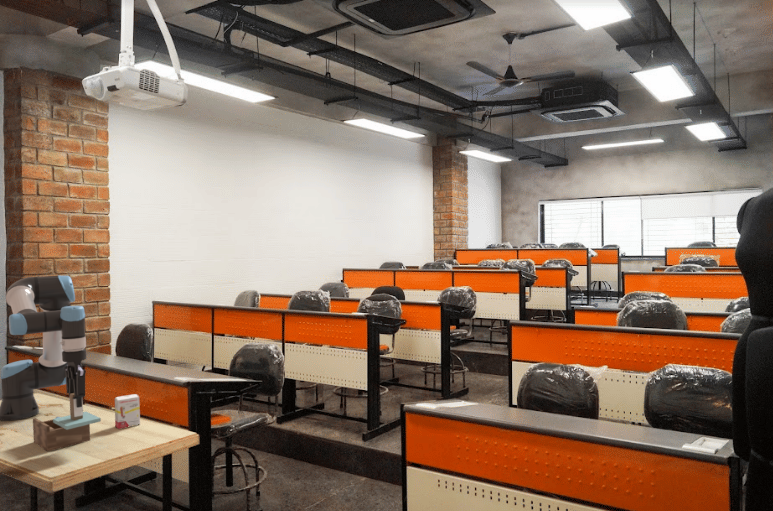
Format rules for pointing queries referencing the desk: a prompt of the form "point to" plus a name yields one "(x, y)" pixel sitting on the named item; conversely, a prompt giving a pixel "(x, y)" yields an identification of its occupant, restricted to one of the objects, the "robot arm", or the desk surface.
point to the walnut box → (58, 435)
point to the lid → (75, 418)
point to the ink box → (127, 411)
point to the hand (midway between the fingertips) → (76, 414)
